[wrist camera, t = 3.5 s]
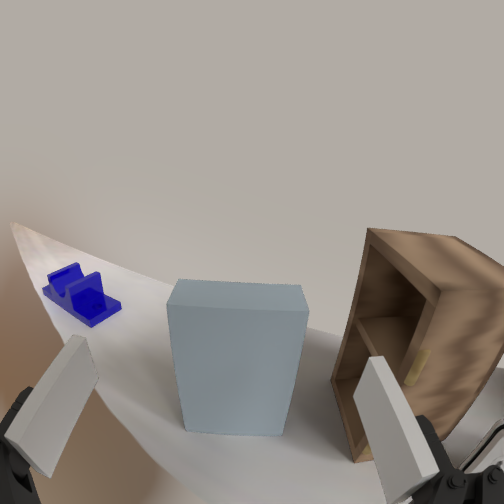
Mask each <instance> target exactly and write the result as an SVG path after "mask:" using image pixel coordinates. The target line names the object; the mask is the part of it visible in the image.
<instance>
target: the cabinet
mask: <svg viewBox="0 0 504 504" xmlns="http://www.w3.org/2000/svg"><path fill="white" fill-rule="evenodd" d="M503 353H504V266H502V265H501V264H499V263H497V262H496V261H495V260H493V259H492V258H490V257H488V256H487V255H485V254H484V253H482V252H481V251H479V250H477V249H476V248H474V247H472V246H471V245H469V244H467V243H466V242H464V241H462V240H460V239H459V238H457V237H455V236H445V235H436V234H427V233H417V232H408V231H397V230H387V229H375V228H367V233H366V239H365V245H364V250H363V256H362V260H361V265H360V270H359V275H358V280H357V284H356V289H355V293H354V297H353V301H352V306H351V310H350V314H349V318H348V322H347V325H346V329H345V333H344V336H343V340H342V343H341V347H340V350H339V354H338V357H337V360H336V364H335V367H334V370H333V373H332V376H331V383H332V386H333V390H334V393H335V396H336V400H337V403H338V407H339V410H340V414H341V417H342V421H343V424H344V428H345V431H346V435H347V439H348V442H349V446H350V450H351V453H352V457H353V461H354V463H359V462H364V461H369V460H374V458H373V454H372V451H371V448H370V445H369V442H368V439H367V436H366V433H365V430H364V427H363V424H362V421H361V418H360V415H359V412H358V409H357V406H356V404H355V401H354V398H353V395H354V393H355V390H356V388H357V386H358V383H359V381H360V379H361V376H362V374H363V371H364V369H365V366H366V364H367V361H368V359H369V357H376V356H384V358H385V360H386V362H387V364H388V366H389V367H390V369H391V371H392V373H393V375H394V377H395V379H396V381H397V383H398V384H399V386H400V388H401V390H402V392H403V394H404V396H405V398H406V400H407V402H408V404H409V406H410V408H411V410H412V412H413V414H414V416H419V415H424V416H425V417H426V418H427V419H428V420H429V421H430V422H431V423H432V425H433V427H434V429H435V431H436V432H435V433H437V435H438V437H439V440H440V441H443V440H445V439H446V438H447V436H448V435H449V434H450V433H451V432H452V430H453V429H454V428H455V427H456V425H457V424H458V423H459V421H460V420H461V419H462V418H463V416H464V415H465V414H466V412H467V411H468V409H469V408H470V407H471V405H472V404H473V402H474V401H475V400H476V398H477V397H478V395H479V394H480V392H481V391H482V389H483V388H484V386H485V384H486V383H487V381H488V380H489V378H490V376H491V375H492V373H493V371H494V370H495V368H496V366H497V364H498V363H499V361H500V359H501V357H502V355H503Z"/></svg>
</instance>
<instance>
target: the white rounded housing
mask: <svg viewBox="0 0 504 504" xmlns="http://www.w3.org/2000/svg"><path fill="white" fill-rule="evenodd" d="M490 465H498V466H499V467H501V468H502V470H503V471H504V419H501V420H499V421H497V422H496V423H495V424H494V425H493V427H492V428H491V429H490V431H489V432H488V433H487V435H486V436H485V437H484V438H483V440H482V441H481V442H480V443H479V445H478V446H477V447H476V448H475V449H474V451H473V452H472V453H471V454H470V455H469V456H468V457H467V459H466V460H465V461H464V462H463V463H462V464H461V465H460V467H459V470H461V471H463V472H464V473H465V474H469V473H478V472H482V471H484V470H485V469H486V468H487V467H488V466H490Z"/></svg>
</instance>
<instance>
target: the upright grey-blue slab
mask: <svg viewBox="0 0 504 504" xmlns="http://www.w3.org/2000/svg"><path fill="white" fill-rule="evenodd" d="M167 314H168V323H169V332H170V340H171V347H172V355H173V362H174V369H175V375H176V381H177V387H178V393H179V399H180V404H181V410H182V415H183V420H184V425H185V430H186V431H191V432H200V433H211V434H224V435H245V436H282V434H283V430H284V426H285V422H286V418H287V414H288V410H289V406H290V402H291V398H292V393H293V389H294V385H295V380H296V376H297V371H298V366H299V362H300V357H301V352H302V347H303V342H304V337H305V332H306V327H307V321H308V316H309V309H308V306H307V303H306V300H305V297H304V294H303V291H302V288H301V285H286V284H285V285H284V284H260V283H240V282H239V283H238V282H220V281H203V280H187V279H178V281H177V283H176V285H175V287H174V289H173V291H172V293H171V296H170V298H169V300H168V302H167Z"/></svg>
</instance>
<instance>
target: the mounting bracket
mask: <svg viewBox="0 0 504 504" xmlns="http://www.w3.org/2000/svg"><path fill="white" fill-rule="evenodd" d="M47 277H48V281H49V285H47V286H45V287H43V288H42V289H43V293H44V295H45V296H47V297H48V298H49V299H51V300H52V301H53V302H55V303H56V304H57V305H59V306H60V307H62V308H63V309H64V310H66V311H67V312H69V313H70V314H71V315H73V316H74V317H76V318H77V319H79V320H80V321H82V322H83V323H85V324H86V325H88V326H89V327H91V328H92V327H93V326H95V325H97V324H98V323H100V322H101V321H103V320H105V319H106V318H108V317H110V316H111V315H113V314H114V313H116V312H118V311H119V310H121V309H122V308H121V302H119V301H117V300H115V299H113V298H111V297H109V296H107V295H105V294H104V292H103V287H102V281H101V275H100V273H99V272H97V271H96V272H94V273H92V274H89V275H87V276H85V277H84V275H83V273H82V271H81V268H80V265H79V263H77V262H76V263H73V264H71V265H69V266H67V267H64V268H62V269H60V270H57V271H55V272H53V273H51V274H48V275H47Z"/></svg>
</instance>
